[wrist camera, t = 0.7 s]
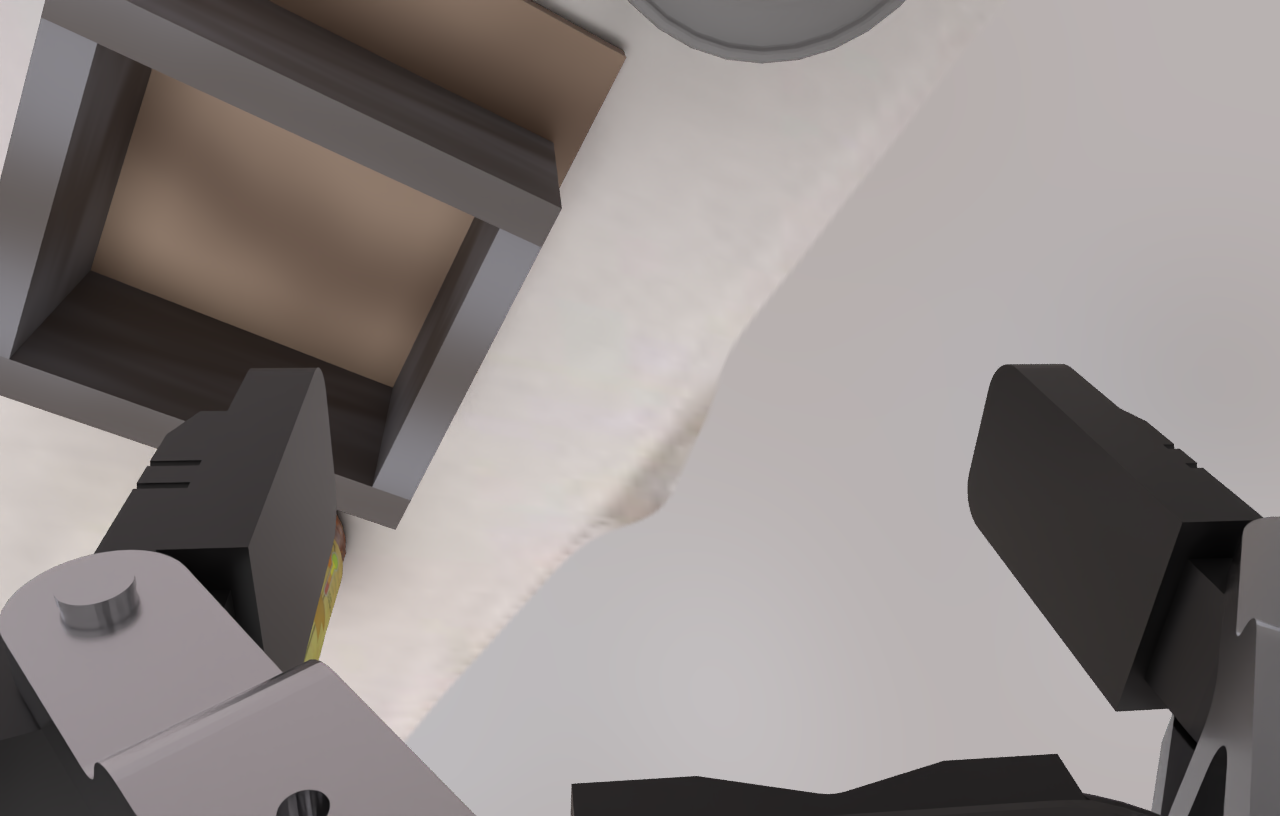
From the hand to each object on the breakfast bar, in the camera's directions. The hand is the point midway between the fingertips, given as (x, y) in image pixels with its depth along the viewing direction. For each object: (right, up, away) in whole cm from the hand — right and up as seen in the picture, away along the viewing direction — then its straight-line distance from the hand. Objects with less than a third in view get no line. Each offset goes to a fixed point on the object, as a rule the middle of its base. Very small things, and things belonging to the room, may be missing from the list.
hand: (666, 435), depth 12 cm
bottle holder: (-11, +7, +20) cm, 24 cm away
